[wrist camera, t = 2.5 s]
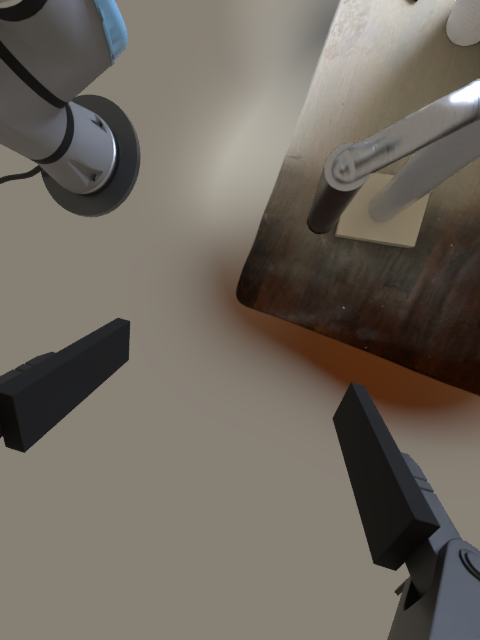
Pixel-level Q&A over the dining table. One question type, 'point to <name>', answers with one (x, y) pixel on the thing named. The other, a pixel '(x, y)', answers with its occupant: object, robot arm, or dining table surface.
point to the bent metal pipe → (387, 151)
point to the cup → (464, 22)
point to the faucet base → (380, 231)
